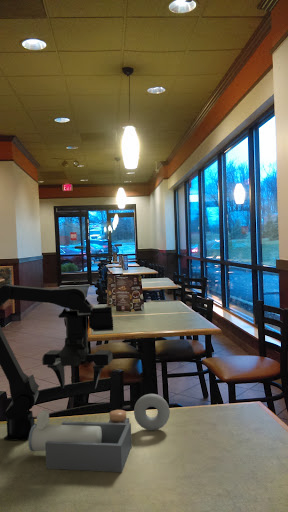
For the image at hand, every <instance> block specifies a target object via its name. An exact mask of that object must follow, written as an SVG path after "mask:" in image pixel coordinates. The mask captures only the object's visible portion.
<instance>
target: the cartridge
mask: <svg viewBox="0 0 288 512" xmlns="http://www.w3.org/2000/svg"><path fill="white" fill-rule="evenodd" d="M46 441H61V442H88V443H101V441H102V431H101V427H100V426H79V425H62V424H50V411H49V409H48V410H46V409H45V410H44V409H43V410H42V411H41V412H40V413H39V414H38V415H37V416H36V423H35V424H34V425H33V426H32V428H31V430H30V433H29V438H28V447H29V450H30V451H31V452H36V451H37V452H40V451H41V452H46V449H45V443H46Z"/></svg>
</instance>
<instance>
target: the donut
mask: <svg viewBox="0 0 288 512" xmlns="http://www.w3.org/2000/svg"><path fill="white" fill-rule="evenodd" d="M150 407H151V408H152V407H153V408H155V409H156V410H157V414H156V415H155V416H153V417H151V416H149V415H148V414H147V409H148V408H150ZM170 411H171V410H170V406H169V403H168V402H167V401H166V400H165V399H164V397H162V396H161V395H159V394H156V393H148V394H144V395H142V396H141V397H139V398H138V399H137V401H136V403H135V405H134V409H133V415H134V420H135V421H136V422H137V424H138V426H139V427H141V428H142V429H144V430H147V431H153V432H154V431H159V430H160V429H162V428H163V427H164V426H166V424H167V423H168V421H169V419H170V413H171V412H170Z"/></svg>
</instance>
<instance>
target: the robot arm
mask: <svg viewBox="0 0 288 512" xmlns="http://www.w3.org/2000/svg"><path fill="white" fill-rule="evenodd" d="M9 300H11V301H12V300H13V301H23V302H24V301H25V302H33V303H34V302H35V303H37V302H38V303H46V304H47V303H48V304H53V305H56V306H59V307H61V308H63V309H62V311H61V313H59V314H58V318H59V319H64V318H65V333H66V337H65V338H64V344H63V345H64V346H63V347H62V349H60V350H58V349H57V350H56V349H54V350H53V349H52V350H49V351H47V352H46V353H44V354H43V356H42V359H41V361H42V362H41V363H42V365H43V366H46V367H47V368H48V369H51V370H52V371H53V372H54V374H55V376H56V378H57V380H58V382H59V384H60V387H61V389H64V388H65V384H66V379H65V367H67V366H68V367H70V366H71V367H77V366H79V364H80V362H93V364H94V365H93V366H92V369H93V381H92V383H93V384H92V386H93V389H94V390H96V388H97V385H98V383H99V379H100V376H101V374H102V370H103V369H104V368H105V367H106V366H109V365H110V364H111V362H112V361H113V353H112V352H113V351H111V350H108V349H106V350H104V349H102V350H97V351H96V352H95V353H90V351H89V350H90V349H89V346H88V338H89V333H88V328H87V327H89V329H90V330H92V332H93V333H94V332H95V333H96V332H111V331H114V317H113V309H112V306H111V305H109V306H104V307H103V306H101V307H94V306H93V305H92V303H90V301H88V299H87V294H86V291H85V290H84V289H83V288H81V287H78V286H71V287H60V288H48V287H47V288H46V287H45V288H44V287H36V286H35V287H34V286H25V285H14V284H11V283H8V284H7V283H6V284H5V285H1V286H0V308H1V307H2V306H3V305H4V304H6V303H7V301H9ZM68 309H69V310H68ZM79 311H80V312H79ZM87 317H88V321H87ZM87 322H88V323H87ZM87 324H88V325H87ZM0 367H1V370H2V372H3V374H4V375H5V377H6V379H7V381H8V385H9V393H10V398H11V402H10V403H9V405H8V407H7V408H6V410H5V411H4V415H5V417H6V435H5V436H4V438H3V439H4V440H5V441H27V440H29V433H30V430H31V428H32V426H33V425H34V424H36V423H35V416H33V410H31V409H33V407H34V406H35V403H36V402H37V400H38V396H39V393H40V392H39V388H40V385H39V384H38V383H37V382H36V380H35V377H34V374H30V375H29V376H28V375H27V374H26V373H25V372H24V371H23V369H22V367H21V365H20V364H19V361H18V359H17V357H16V355H15V353H14V352H13V349H12V348H11V345H10V344H9V341H8V339H7V338H6V336H5V334H4V332H3V329H2V327H1V326H0Z"/></svg>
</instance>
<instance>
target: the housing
mask: <svg viewBox="0 0 288 512" xmlns="http://www.w3.org/2000/svg"><path fill="white" fill-rule="evenodd" d="M61 425H79V426H100V427H101V431H102V441H101V443H88V442H61V441H46V443H45V449H46V451H45V466H46V469H47V470H48V469H52V470H69V471H89V472H90V471H91V472H93V471H94V472H111V473H112V472H113V473H123V471H124V468H125V465H126V462H127V459H128V457H129V455H130V452H131V450H132V445H133V444H132V443H133V442H132V423H130V417H126V420H125V421H122V422H121V423H115V422H112V421H110V419H109V421H107V422H103V421H100V422H99V421H97V422H96V421H67V420H65V421H64V420H63V421H62V422H61Z"/></svg>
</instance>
